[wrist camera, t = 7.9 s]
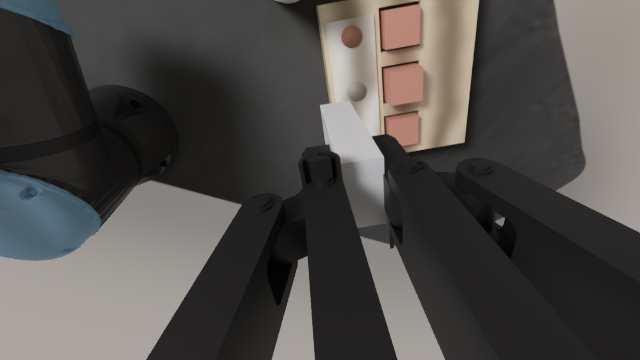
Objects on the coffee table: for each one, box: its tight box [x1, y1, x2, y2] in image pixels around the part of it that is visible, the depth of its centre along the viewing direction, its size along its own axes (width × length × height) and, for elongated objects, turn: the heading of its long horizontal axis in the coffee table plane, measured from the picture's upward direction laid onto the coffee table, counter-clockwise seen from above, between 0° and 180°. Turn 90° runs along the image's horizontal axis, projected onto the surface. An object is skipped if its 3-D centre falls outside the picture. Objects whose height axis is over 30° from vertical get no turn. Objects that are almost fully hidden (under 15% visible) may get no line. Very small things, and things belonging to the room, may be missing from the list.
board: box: [316, 0, 479, 152], centre depth 43 cm, size 20×22×4 cm
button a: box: [384, 111, 419, 146], centre depth 45 cm, size 4×4×4 cm
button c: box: [379, 5, 420, 50], centre depth 38 cm, size 4×4×4 cm
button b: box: [382, 62, 423, 106], centre depth 41 cm, size 4×4×4 cm
